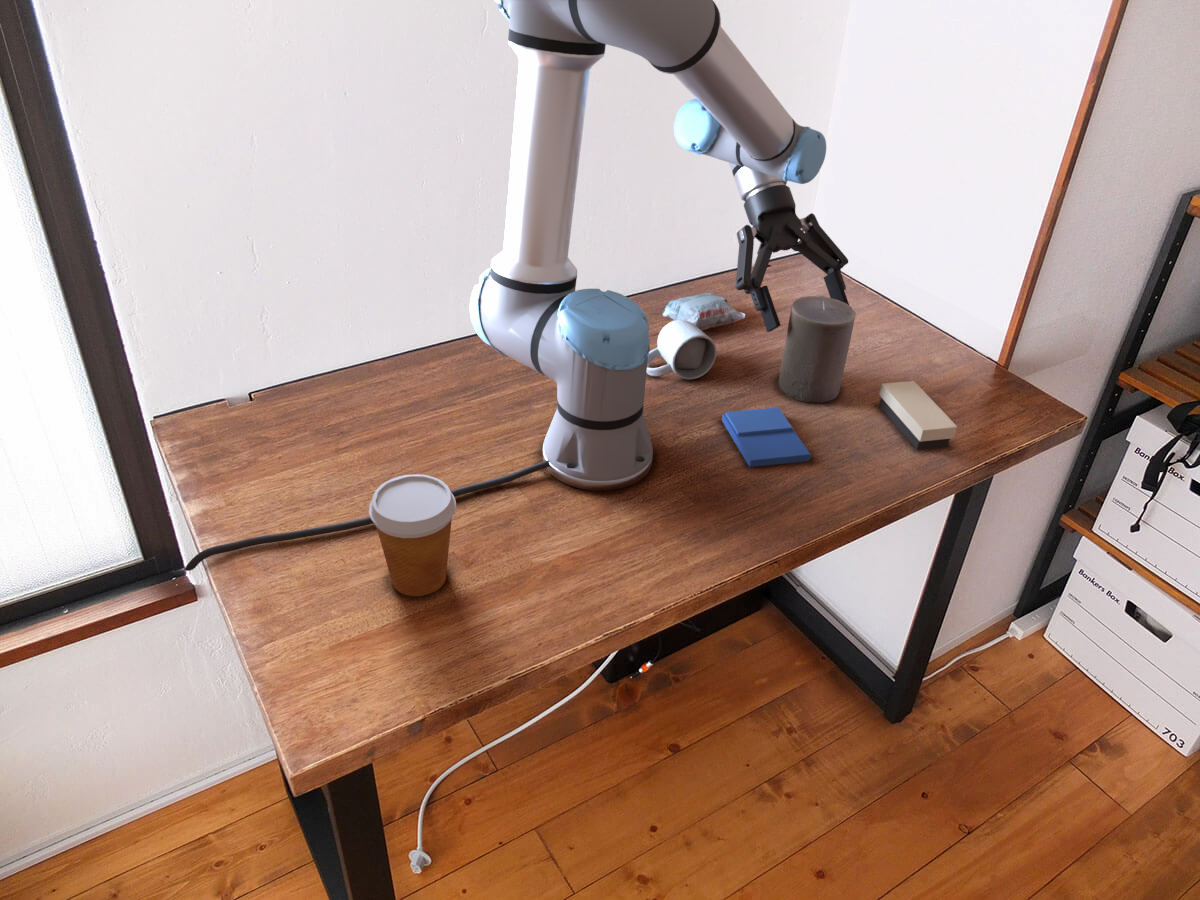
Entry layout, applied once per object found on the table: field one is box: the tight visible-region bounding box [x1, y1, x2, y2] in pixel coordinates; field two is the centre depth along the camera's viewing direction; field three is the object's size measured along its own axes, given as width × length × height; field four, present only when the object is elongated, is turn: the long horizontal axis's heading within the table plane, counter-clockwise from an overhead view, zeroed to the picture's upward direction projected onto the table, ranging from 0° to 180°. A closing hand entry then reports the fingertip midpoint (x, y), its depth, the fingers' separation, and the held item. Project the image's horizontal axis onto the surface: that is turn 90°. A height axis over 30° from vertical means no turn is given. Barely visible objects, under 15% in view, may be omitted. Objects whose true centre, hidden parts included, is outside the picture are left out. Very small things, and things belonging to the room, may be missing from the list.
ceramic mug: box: [646, 319, 717, 380], centre depth 152 cm, size 11×8×8 cm
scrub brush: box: [878, 380, 958, 451], centre depth 142 cm, size 6×13×4 cm, turn 13°
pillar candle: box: [777, 295, 857, 404], centre depth 147 cm, size 10×10×15 cm
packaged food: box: [662, 291, 746, 331], centre depth 166 cm, size 9×12×5 cm
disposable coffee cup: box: [368, 473, 457, 597], centre depth 108 cm, size 10×10×12 cm
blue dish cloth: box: [721, 406, 812, 468], centre depth 138 cm, size 9×12×2 cm
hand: (809, 320), depth 147 cm, fingers open, 13 cm apart
